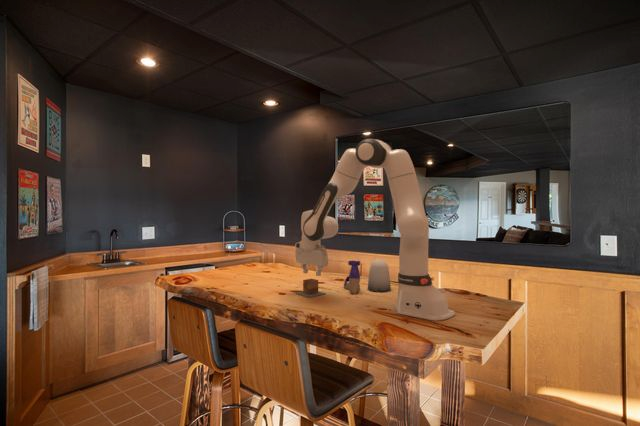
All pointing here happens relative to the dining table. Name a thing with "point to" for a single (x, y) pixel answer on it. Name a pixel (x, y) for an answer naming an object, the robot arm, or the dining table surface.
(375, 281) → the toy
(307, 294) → the pad
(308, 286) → the walnut block
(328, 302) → the dining table surface
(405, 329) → the dining table surface
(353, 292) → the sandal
